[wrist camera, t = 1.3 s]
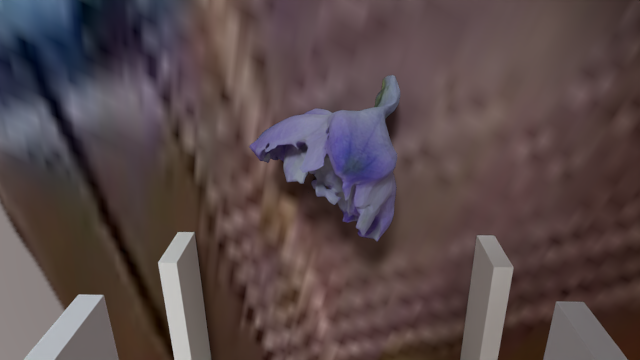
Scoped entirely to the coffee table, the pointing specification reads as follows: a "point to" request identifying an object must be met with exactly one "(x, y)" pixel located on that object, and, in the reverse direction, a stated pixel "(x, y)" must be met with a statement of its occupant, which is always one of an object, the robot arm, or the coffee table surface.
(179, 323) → the bay
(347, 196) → the flower
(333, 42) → the coffee table surface
